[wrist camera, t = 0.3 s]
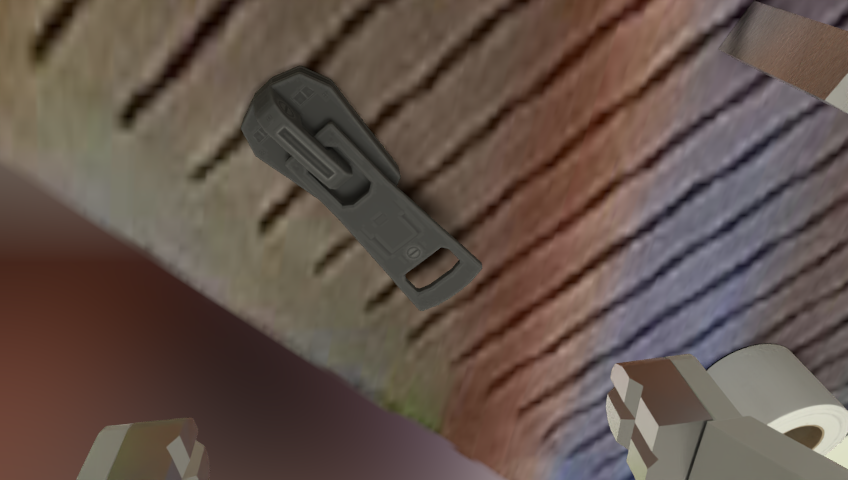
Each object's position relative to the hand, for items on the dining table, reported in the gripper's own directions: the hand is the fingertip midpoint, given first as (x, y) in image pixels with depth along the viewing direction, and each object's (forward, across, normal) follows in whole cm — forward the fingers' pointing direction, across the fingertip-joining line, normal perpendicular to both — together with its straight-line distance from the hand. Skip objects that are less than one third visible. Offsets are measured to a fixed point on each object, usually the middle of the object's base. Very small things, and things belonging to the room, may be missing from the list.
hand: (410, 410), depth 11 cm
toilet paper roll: (+44, -49, +53) cm, 85 cm away
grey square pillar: (+40, -34, +3) cm, 53 cm away
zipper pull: (+41, +1, +14) cm, 43 cm away
